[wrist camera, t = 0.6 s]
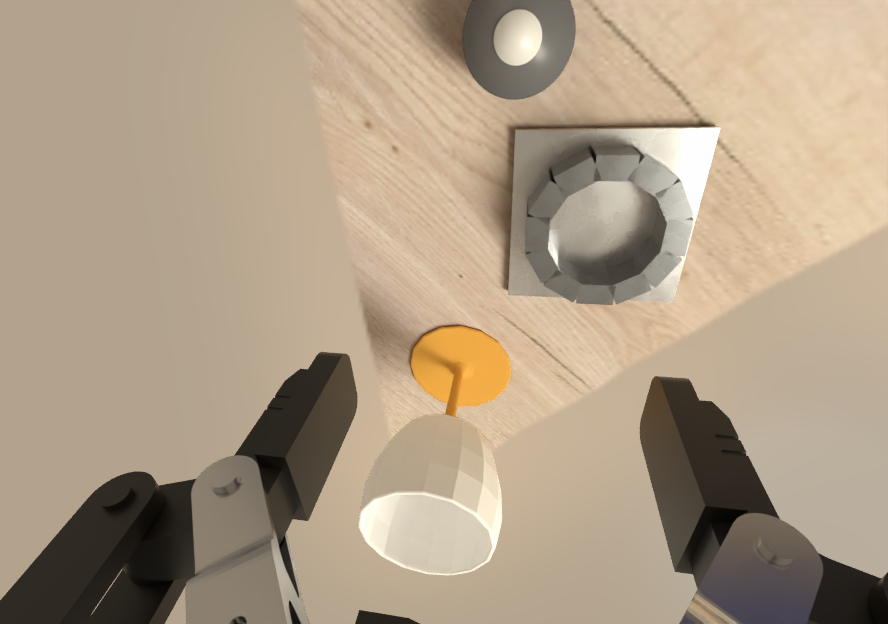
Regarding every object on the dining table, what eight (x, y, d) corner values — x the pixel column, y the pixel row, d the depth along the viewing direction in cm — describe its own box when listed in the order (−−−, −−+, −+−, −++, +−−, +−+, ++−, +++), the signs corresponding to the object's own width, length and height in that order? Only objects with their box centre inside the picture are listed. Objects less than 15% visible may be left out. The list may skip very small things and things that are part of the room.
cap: (471, -19, 25) (461, -29, 21) (574, -26, 24) (582, -37, 20) (472, 91, 28) (463, 100, 24) (563, 89, 27) (569, 98, 23)
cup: (524, 394, 40) (522, 575, 27) (434, 412, 43) (391, 582, 30) (491, 313, 36) (468, 477, 23) (394, 339, 39) (324, 497, 26)
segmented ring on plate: (515, 128, 29) (514, 138, 26) (716, 125, 27) (736, 135, 24) (508, 291, 35) (506, 311, 32) (671, 298, 33) (683, 320, 30)
